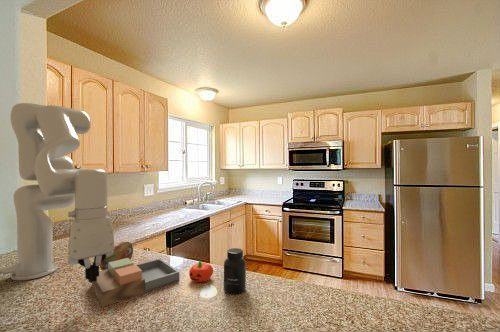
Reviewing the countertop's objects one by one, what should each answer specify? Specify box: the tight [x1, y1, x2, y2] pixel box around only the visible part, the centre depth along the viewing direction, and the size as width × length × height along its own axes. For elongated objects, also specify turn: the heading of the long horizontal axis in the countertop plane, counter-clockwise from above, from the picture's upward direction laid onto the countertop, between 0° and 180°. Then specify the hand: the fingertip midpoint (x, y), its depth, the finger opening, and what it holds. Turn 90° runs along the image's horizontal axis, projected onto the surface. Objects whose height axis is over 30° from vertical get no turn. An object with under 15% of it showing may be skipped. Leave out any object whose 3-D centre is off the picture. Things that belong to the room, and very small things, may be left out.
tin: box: [99, 241, 134, 271], centre depth 92 cm, size 15×3×8 cm, turn 169°
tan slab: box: [91, 269, 146, 308], centre depth 75 cm, size 11×16×4 cm
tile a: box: [115, 264, 142, 285], centre depth 73 cm, size 6×6×2 cm
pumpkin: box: [188, 260, 214, 283], centre depth 81 cm, size 7×8×6 cm
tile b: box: [108, 258, 135, 276], centre depth 79 cm, size 6×6×2 cm
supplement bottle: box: [223, 247, 247, 295], centre depth 74 cm, size 7×7×12 cm
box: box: [136, 258, 180, 293], centre depth 82 cm, size 11×16×3 cm
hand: (92, 280), depth 67 cm, fingers closed
